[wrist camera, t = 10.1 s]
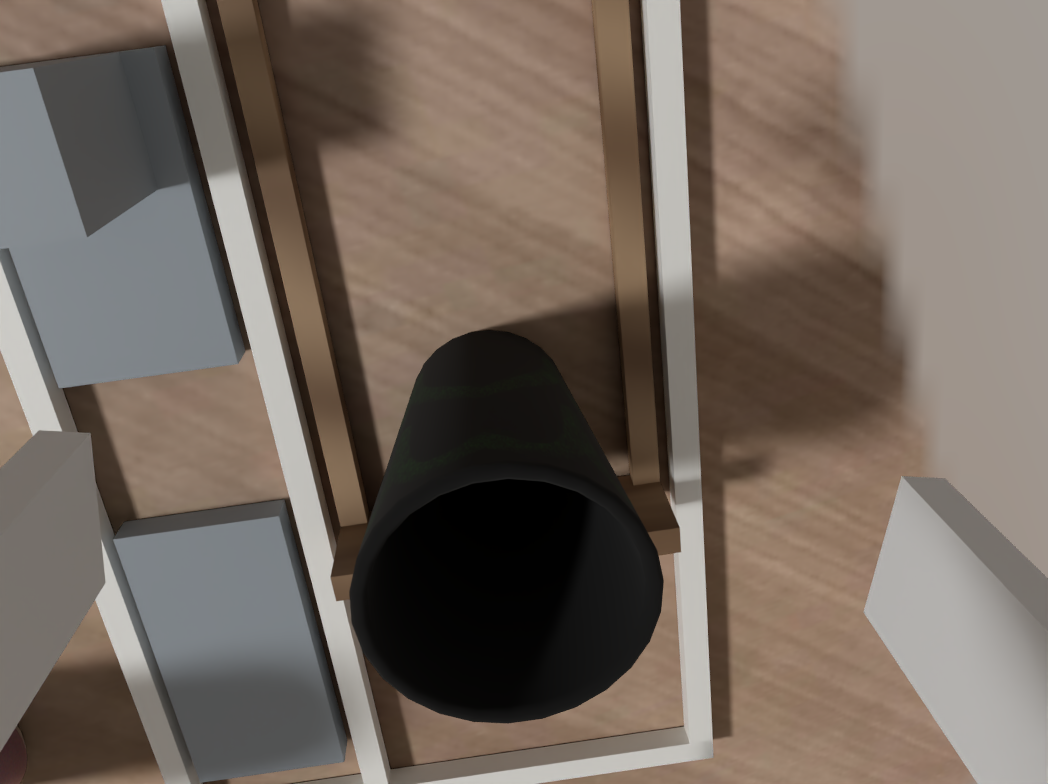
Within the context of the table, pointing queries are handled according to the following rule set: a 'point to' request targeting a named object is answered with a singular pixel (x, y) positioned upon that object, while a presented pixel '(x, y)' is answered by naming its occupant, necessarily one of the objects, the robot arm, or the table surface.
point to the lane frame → (265, 530)
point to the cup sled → (309, 308)
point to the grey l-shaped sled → (111, 219)
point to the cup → (501, 544)
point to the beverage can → (13, 759)
